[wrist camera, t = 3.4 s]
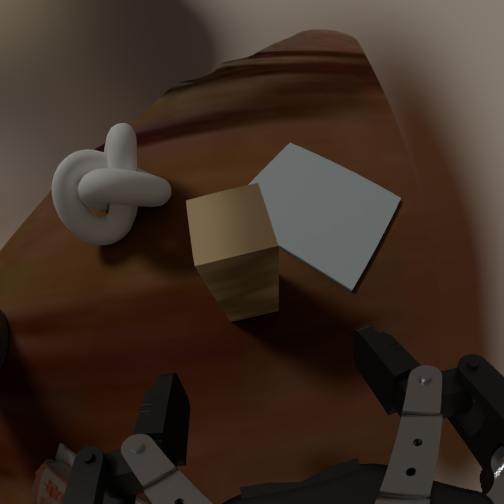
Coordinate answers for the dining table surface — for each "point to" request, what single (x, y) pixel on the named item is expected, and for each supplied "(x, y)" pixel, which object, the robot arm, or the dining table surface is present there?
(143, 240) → the dining table surface
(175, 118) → the dining table surface
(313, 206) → the felt mat
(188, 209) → the oak block
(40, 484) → the packaged product
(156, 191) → the white decorative knot
